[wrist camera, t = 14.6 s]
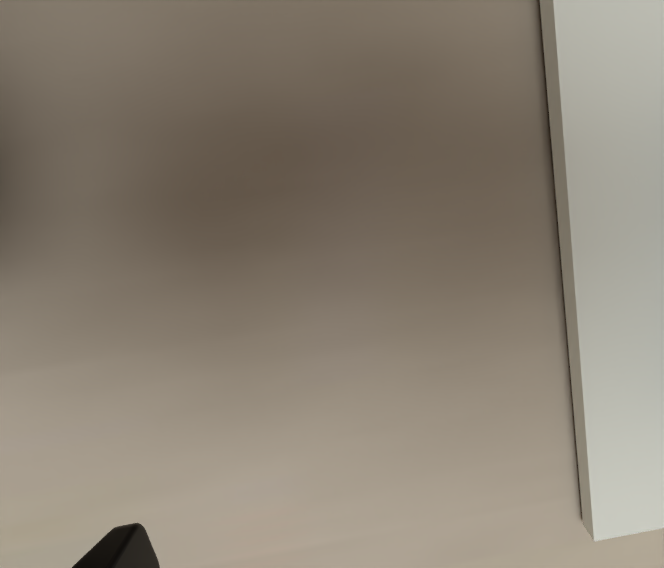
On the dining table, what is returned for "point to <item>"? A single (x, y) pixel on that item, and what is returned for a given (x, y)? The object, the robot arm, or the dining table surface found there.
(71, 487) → the dining table surface
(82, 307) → the dining table surface
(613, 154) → the socket block
